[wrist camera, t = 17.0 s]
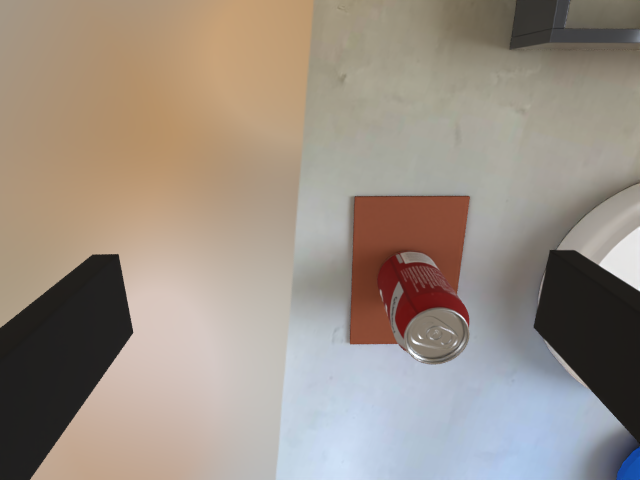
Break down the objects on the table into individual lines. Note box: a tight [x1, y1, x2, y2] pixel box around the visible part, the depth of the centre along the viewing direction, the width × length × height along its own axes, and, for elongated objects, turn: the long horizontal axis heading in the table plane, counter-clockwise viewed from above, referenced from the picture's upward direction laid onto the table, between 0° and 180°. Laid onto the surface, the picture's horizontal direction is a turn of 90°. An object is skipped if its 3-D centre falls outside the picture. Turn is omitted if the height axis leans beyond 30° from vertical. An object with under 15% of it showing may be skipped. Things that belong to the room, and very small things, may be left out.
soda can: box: [377, 250, 469, 364], centre depth 41 cm, size 7×7×12 cm
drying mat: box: [350, 196, 470, 344], centre depth 46 cm, size 18×12×1 cm, turn 0°
